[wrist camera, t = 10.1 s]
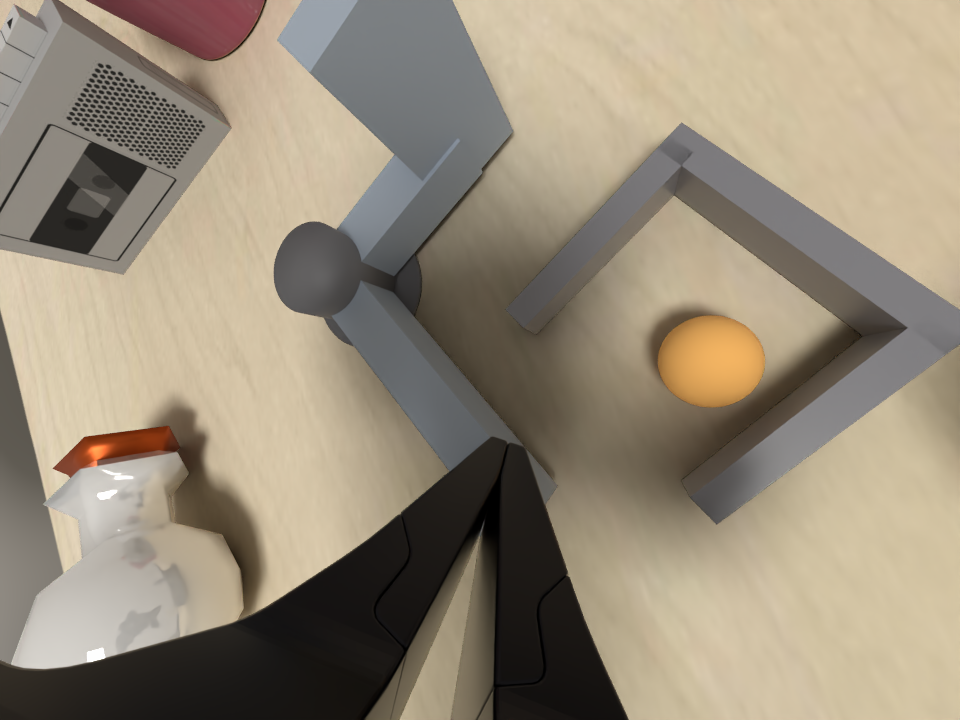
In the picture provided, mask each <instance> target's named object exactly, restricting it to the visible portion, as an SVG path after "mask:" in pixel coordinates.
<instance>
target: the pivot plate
mask: <svg viewBox="0 0 960 720" xmlns="http://www.w3.org/2000/svg"><path fill="white" fill-rule="evenodd" d="M394 278H395V286H394V294H395V295H396V296H397V297H398V298H399V299H400V301H401V302H402V303H403V304H404V305H405V306H406V308H407V309H408V310H409V311H410V312H411V314H412V315H413V316H414V314H415V312H416V310H417V307H418V304H419V300H420V296H421V288H422V278H421V270H420V266H419V263H418V260H417V258H416V255H415V254H413V255H412V256H411V257H410V258H409V260H408V261H407V262H406V263H405V264H404V265H403V267H402V268H401V269H400V270H399V271H398V272H397V274H396V275H395V276H394ZM324 319H325V321H326V323H327V325H328V327H329V328H330V330H331V331H332V332H333V333H334V335H336V336H337V337H338V338H339V339H340V340H342V341H343V342H345V343H347V344H349V345H352V346H354V345H353V344H352V342H351V341H350V340H349V338H348V337H347V336H346V335H345V333H344V332H343V331H342V329H341V328H340V327H339V325H338V324H337V323H336V321H335V320H333V319H329V318H324Z"/></svg>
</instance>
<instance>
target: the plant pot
mask: <svg viewBox="0 0 960 720" xmlns="http://www.w3.org/2000/svg"><path fill="white" fill-rule="evenodd" d="M86 1H88V2H90V3H92V4H94V5H96V6H98V7H100V8H102V9H104V10H106V11H107V12H109V13H111V14H113V15H115V16H117V17H119V18H121V19H123V20H125V21H127V22H129V23H131V24H133V25H135V26H137V27H139V28H141V29H143V30H145V31H147V32H149V33H151V34H153V35H155V36H157V37H159V38H161V39H163V40H165V41H167V42H169V43H171V44H173V45H175V46H177V47H179V48H181V49H183V50H186V51H187V52H189V53H191V54H193V55H195V56H197V57H199V58H202V59H206V60H214V59H218V58H221V57H223V56H226V55H227V54H229V53H230V52H232V51H233V50H234V49H235V48H236V47H238V46H239V45H240V44H241V43H242V42H243V40H244V39H245V38H246V37H247V35H248V34H249V32H250V31H251V29H252V28H253V26H254V25H255V23H256V21H257V19H258V17H259V15H260V13H261V10H262V8H263V5H264V1H265V0H86Z"/></svg>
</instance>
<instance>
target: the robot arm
mask: <svg viewBox="0 0 960 720" xmlns="http://www.w3.org/2000/svg"><path fill="white" fill-rule="evenodd" d="M484 520H485V521H484ZM483 523H484V524H483ZM482 526H483V528H482ZM481 529H482V532H481ZM480 532H481V537H480V542H479V548H478V554H477V560H476V567H475V573H474V579H473V585H472V591H471V597H470V604H469V610H468V616H467V622H466V628H465V634H464V641H463V647H462V653H461V659H460V665H459V671H458V678H457V684H456V690H455V696H454V702H453V708H452V715H451V720H629V719H628V717H627V714H626V712H625V710H624V708H623V706H622V703H621V701H620V699H619V697H618V695H617V692H616V690H615V688H614V686H613V684H612V681H611V679H610V677H609V675H608V672H607V670H606V668H605V666H604V664H603V661H602V659H601V657H600V655H599V652H598V650H597V648H596V645H595V643H594V641H593V638H592V636H591V634H590V631H589V629H588V627H587V624H586V622H585V619H584V616H583V614H582V611H581V608H580V605H579V603H578V600H577V597H576V594H575V591H574V588H573V585H572V582H571V579H570V577H569V576H567V575H568V571H567V568H566V565H565V562H564V559H563V556H562V553H561V550H560V547H559V544H558V541H557V539H556V536H555V533H554V530H553V527H552V524H551V521H550V518H549V515H548V512H547V509H546V506H545V503H544V500H543V497H542V494H541V491H540V488H539V485H538V482H537V479H536V476H535V473H534V470H533V467H532V465H531V462H530V459H529V456H528V453H527V450H526V448H525V447H524V446H521V445H518V444H515V443H512V442H510V443H507V441H506V440H503V439H500V438H497V437H494V436H492V437H490V438H489V439H487V440H486V441H485V442H484V443H483V444H482V445H480V446H479V447H478V448H477V449H476V450H474V451H473V452H472V453H471V454H470V455H469V456H467V457H466V458H465V459H464V460H463V461H461V462H460V463H459V464H458V465H457V466H455V467H454V468H453V469H452V470H451V471H450V472H448V473H447V474H446V475H445V476H444V477H442V478H441V479H440V480H439V481H438V482H437V483H435V484H434V485H433V486H432V487H431V488H429V489H428V490H427V491H426V492H425V493H423V494H422V495H421V496H420V497H419V498H418V499H416V500H415V501H414V502H413V503H412V504H410V505H409V506H408V507H407V508H406V509H405V510H403V511H402V512H401V514H400V515H397V516H396V517H395V518H394V519H392V520H391V521H390V522H389V523H388V524H387V525H385V526H384V527H383V528H382V529H380V530H379V531H378V532H376V533H375V534H374V535H373V536H371V537H370V538H369V539H368V540H366V541H365V542H364V543H362V544H361V545H359V546H358V547H356V548H355V549H353V550H352V551H351V552H349V553H348V554H346V555H345V556H343V557H342V558H340V559H339V560H337V561H336V562H334V563H333V564H331V565H330V566H328V567H327V568H325V569H324V570H322V571H321V572H319V573H318V574H316V575H315V576H313V577H311V578H310V579H308V580H307V581H305V582H304V583H302V584H301V585H299V586H298V587H296V588H295V589H293V590H292V591H290V592H289V593H287V594H286V595H284V596H282V597H281V598H279V599H278V600H276V601H275V602H273V603H271V604H270V605H268V606H267V607H265V608H263V609H261V610H259V611H257V612H255V613H253V614H251V615H249V616H247V617H245V618H242V619H240V620H237V621H235V622H232V623H229V624H225V625H222V626H218V627H215V628H211V629H207V630H204V631H200V632H197V633H193V634H189V635H186V636H182V637H178V638H175V639H171V640H168V641H164V642H160V643H157V644H153V645H149V646H146V647H142V648H139V649H135V650H131V651H128V652H124V653H120V654H117V655H113V656H110V657H106V658H102V659H99V660H95V661H91V662H87V663H82V664H78V665H73V666H68V667H59V668H49V669H34V668H22V667H18V666H14V665H10V664H8V663H6V662H4V661H1V660H0V720H400V717H401V715H402V713H403V710H404V708H405V706H406V703H407V701H408V699H409V697H410V694H411V692H412V690H413V687H414V685H415V683H416V680H417V678H418V676H419V674H420V671H421V669H422V667H423V664H424V662H425V660H426V657H427V655H428V653H429V651H430V648H431V646H432V644H433V641H434V639H435V637H436V634H437V632H438V630H439V628H440V625H441V623H442V621H443V618H444V616H445V614H446V611H447V609H448V607H449V605H450V602H451V600H452V598H453V595H454V593H455V591H456V588H457V586H458V584H459V582H460V579H461V577H462V575H463V572H464V570H465V568H466V565H467V563H468V561H469V559H470V556H471V554H472V552H473V549H474V547H475V545H476V542H477V540H478V537H479V535H480Z"/></svg>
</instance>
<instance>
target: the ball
mask: <svg viewBox="0 0 960 720" xmlns="http://www.w3.org/2000/svg"><path fill="white" fill-rule="evenodd" d="M764 367H765V355H764V351H763V348H762V345H761V343H760V341H759V339H758V338H757V337H756V335H755V334H754V333H753V332H752V331H751V330H750V329H749V328H748V327H746V326H745V325H743V324H742V323H740V322H738V321H736V320H733V319H730V318H727V317H723V316H714V315H711V316H700V317H696V318H692V319H689V320H687V321H685V322H683V323H681V324H679V325H678V326H677V327H675V328H674V329H673V330H672V331H671V332H670V333H669V334H668V335H667V336H666V338H665V339H664V341H663V343H662V345H661V347H660V350H659V354H658V369H659V373H660V376H661V378H662V380H663V382H664V384H665V385H666V387H667V388H668V389H669V390H670V391H671V392H672V393H673V394H674V395H675V396H677V397H678V398H680V399H681V400H683V401H685V402H687V403H690V404H693V405H696V406H701V407H723V406H727V405H730V404H733V403H736V402H738V401H740V400H742V399H743V398H745V397H746V396H747V395H749V394H750V393H751V392H752V391H753V390H754V389H755V388H756V386H757V385H758V384H759V382H760V380H761V378H762V375H763V372H764Z"/></svg>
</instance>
